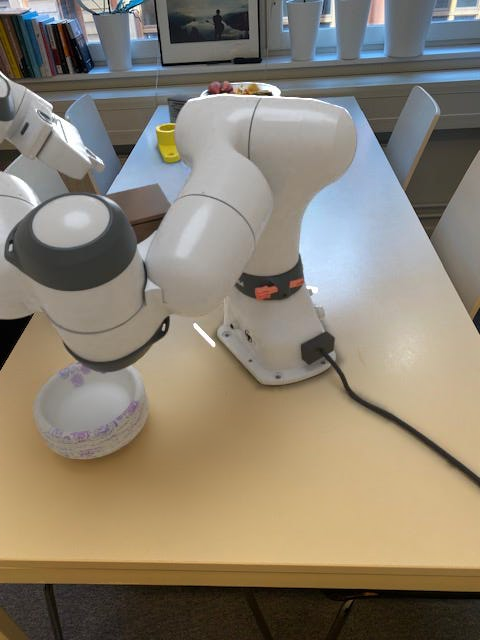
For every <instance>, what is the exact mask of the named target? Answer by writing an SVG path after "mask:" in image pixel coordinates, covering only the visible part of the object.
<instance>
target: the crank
mask: <svg viewBox="0 0 480 640" xmlns="http://www.w3.org/2000/svg"><path fill="white" fill-rule="evenodd" d="M174 129H175V123H171V122H169V123H161V124H159V125H156V127H155V129H154V130H155V135H156V142H157V148H158V151H159V152H160V154H161V157H162V159H163V161H164V163H166V164H167V163H169V164H170V163H171V164H173V163H177V162H179V161H180V160H181V158H180V156H179V154H178V152H177V149H176V145H175V139H174Z"/></svg>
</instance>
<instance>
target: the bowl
mask: <svg viewBox="0 0 480 640" xmlns="http://www.w3.org/2000/svg"><path fill="white" fill-rule="evenodd" d="M219 94H227V95H244V96H262V97H265V96H270V97H281V90H280V89H279V88H277V86H274V85H271V84H267V83H262V82H261V83H260V82H233V83H230V82H229V81H228V80H224V81H222V82H221V83H220V82H218V81H212V82H211V83H209V84H208V86H207V89H205V91H203V92H202V93H201V94H200V97H205V96H212V95H219Z"/></svg>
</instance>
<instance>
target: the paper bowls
mask: <svg viewBox="0 0 480 640" xmlns="http://www.w3.org/2000/svg"><path fill="white" fill-rule="evenodd" d="M149 407H150V405H149V399H148V395H147V390H146V387H145V383H144V379H143V377H142V374H141V373H140V372H139V371H138V370H137V369H136V368H135V367H134V366H133V364H132V365H130V366H128V367H126V368H124V369H122V370H119V371H115V372H98V371H94V370H91V369H89V368H87V367H85V366H84V365H82V364H81V363H79V362H78V361H76V362H74V363H71V364H69V365H68V366H65V367H64V368H62V369H60V370H58V371H57V372H56V373H54V374H53V375H52V376H50V377H49V378H48V379H47V380H46V381H45V382H44V383H43V385H42V386H41V387H40V388H39V390H38V391H37V393H36V395H35V398H34V401H33V405H32V415H33V419H34V422H35V424H36V426H37V429H38V431H39V433H40V435H41V438H42V439H43V441H44V442H45V444H46V445H47V447H49V449H51V451H52V452H54V453H56V454H57V455H60V456H62V457H63V458H68V459H72V460H91V459H97V458H101V457H104V456H108V455H110V454H113V453H115V452H116V451H118V450H120V449H122V448H123V447H125V446H127V445H128V444H129V443H130V442H131V441H132V440H133V439H135V438H136V437H137V436H138V435H139V434H140V433H141V431H142V429H143V428H144V426H145V424H146V422H147V420H148V416H149V411H150V409H149Z"/></svg>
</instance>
